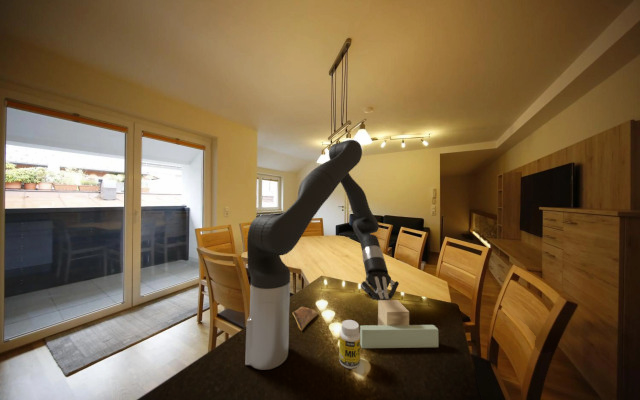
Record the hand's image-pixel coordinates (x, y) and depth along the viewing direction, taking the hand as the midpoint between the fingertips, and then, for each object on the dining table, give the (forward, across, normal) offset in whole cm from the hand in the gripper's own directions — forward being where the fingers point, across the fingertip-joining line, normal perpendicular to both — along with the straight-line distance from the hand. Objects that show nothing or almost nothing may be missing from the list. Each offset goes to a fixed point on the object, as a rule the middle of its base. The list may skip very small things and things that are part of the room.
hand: (386, 313), depth 62 cm
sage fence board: (+9, 0, -4) cm, 9 cm away
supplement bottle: (+12, -14, -7) cm, 20 cm away
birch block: (+6, 0, 0) cm, 6 cm away
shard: (0, -24, +6) cm, 25 cm away
